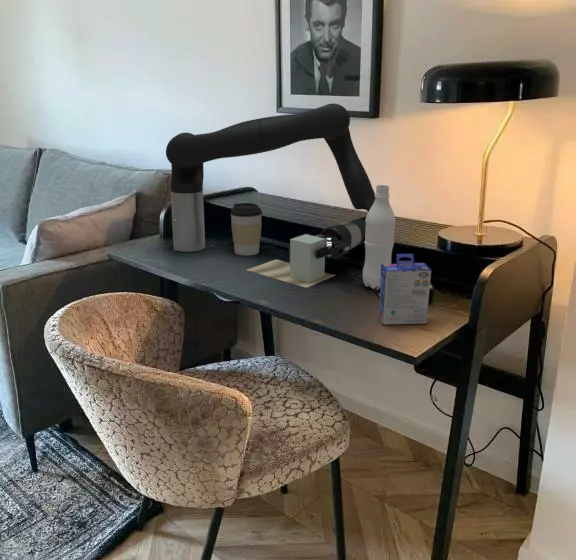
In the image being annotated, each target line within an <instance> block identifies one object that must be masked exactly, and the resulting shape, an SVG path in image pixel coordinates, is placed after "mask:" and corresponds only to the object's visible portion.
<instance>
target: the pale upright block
mask: <svg viewBox="0 0 576 560" xmlns="http://www.w3.org/2000/svg"><path fill="white" fill-rule="evenodd" d="M304 234H305V235H303V234H301V235H302V236H300V235H298V236H299V237H296V236H295V237H296V238H293V237H292V238H290V239H289V241H290V242H289V243H290V251H289V263H290V278H293V279H296V280H300V281H304V282H307V283H311V282H313V281H316V280H318V279H320V278H323V277H324V272H325V268H326V267H325V263H326V256H325V257H322V258H320V259H317V258H315V252H316V250H317V249H320V248H323V247H325V240H326V239H324V238H320V237H316V235H311V234H310V235H307V233H304Z"/></svg>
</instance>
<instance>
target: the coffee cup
mask: <svg viewBox="0 0 576 560" xmlns="http://www.w3.org/2000/svg"><path fill="white" fill-rule="evenodd" d="M229 214H230V217H231V218H230V219H231V225H230V226H231V233H232V241H233V248H234V250H233V251H234V254H236V255H240V256H253V255H257V254H259V252H260V242H261V235H262V215H263V211H262V208H260V206H259V205H258V204H257V203H251V202H241V203H234V204H233V207H232V208H231V209H230V213H229Z"/></svg>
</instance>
